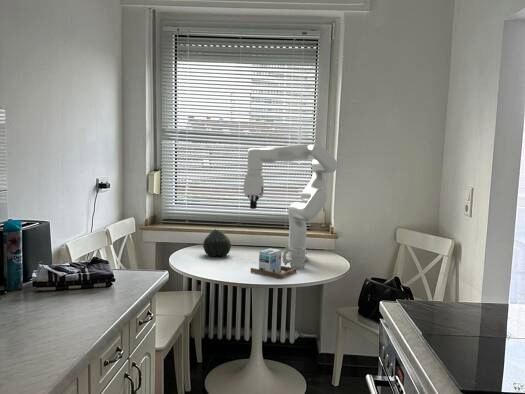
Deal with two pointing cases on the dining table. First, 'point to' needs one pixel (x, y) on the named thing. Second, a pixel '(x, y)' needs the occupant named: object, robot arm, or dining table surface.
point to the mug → (294, 257)
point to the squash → (217, 244)
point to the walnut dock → (276, 275)
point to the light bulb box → (270, 260)
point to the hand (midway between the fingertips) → (253, 208)
